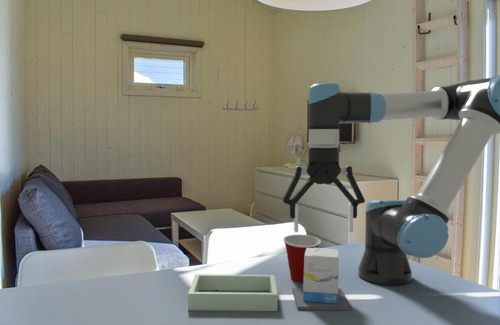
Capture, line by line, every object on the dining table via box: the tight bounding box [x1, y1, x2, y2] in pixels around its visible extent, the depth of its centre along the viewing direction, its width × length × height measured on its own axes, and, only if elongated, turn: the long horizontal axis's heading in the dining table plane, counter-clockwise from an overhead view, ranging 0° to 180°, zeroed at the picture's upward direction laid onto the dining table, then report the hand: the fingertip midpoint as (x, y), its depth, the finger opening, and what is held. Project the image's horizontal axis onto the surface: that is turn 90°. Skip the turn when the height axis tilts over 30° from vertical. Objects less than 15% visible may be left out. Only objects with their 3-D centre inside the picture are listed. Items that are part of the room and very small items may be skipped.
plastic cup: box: [283, 234, 322, 283], centre depth 130 cm, size 11×11×12 cm
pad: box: [291, 287, 353, 311], centre depth 114 cm, size 13×13×1 cm
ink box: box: [302, 247, 340, 304], centre depth 113 cm, size 8×8×12 cm
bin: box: [187, 273, 279, 312], centre depth 114 cm, size 21×15×4 cm
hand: (323, 231), depth 113 cm, fingers open, 13 cm apart
